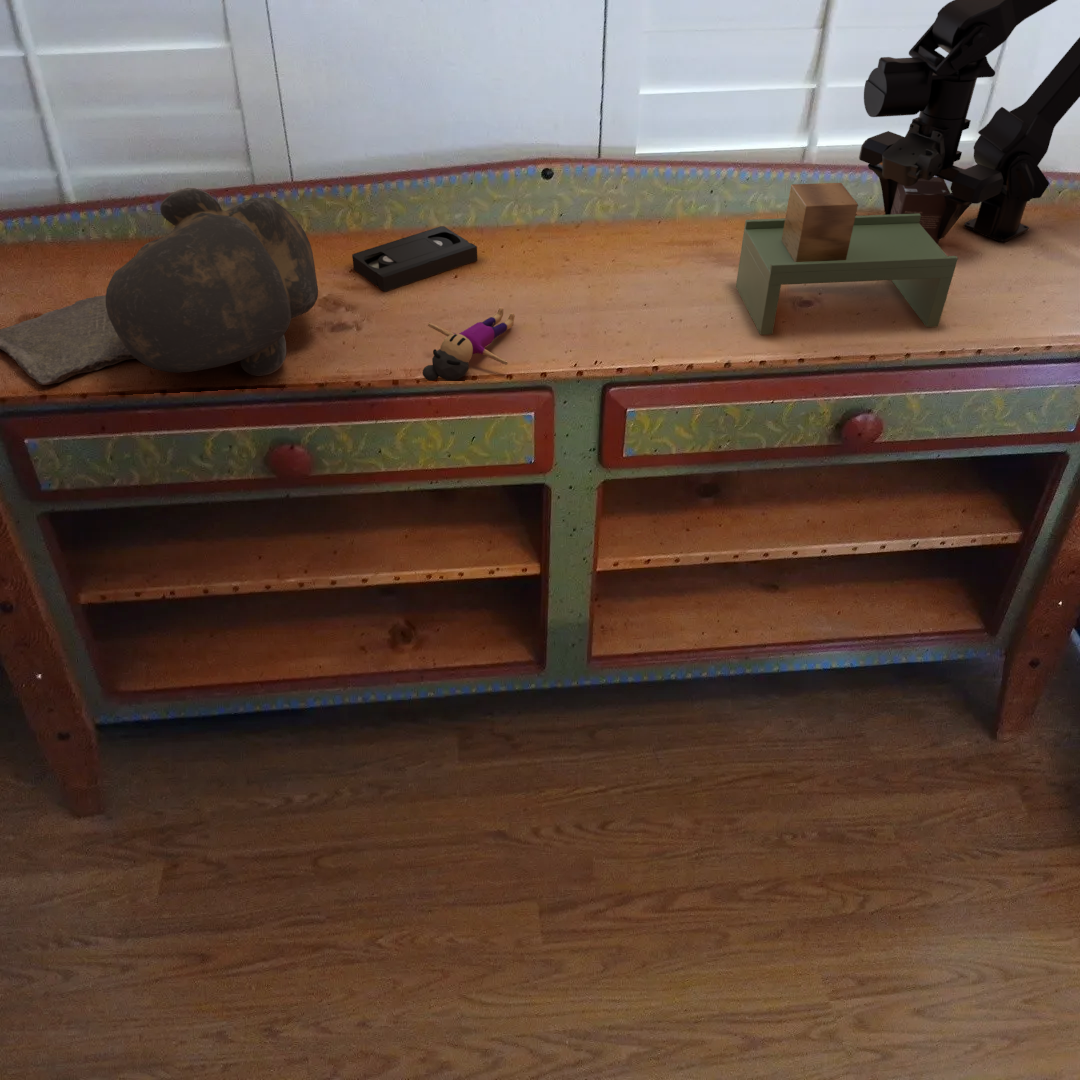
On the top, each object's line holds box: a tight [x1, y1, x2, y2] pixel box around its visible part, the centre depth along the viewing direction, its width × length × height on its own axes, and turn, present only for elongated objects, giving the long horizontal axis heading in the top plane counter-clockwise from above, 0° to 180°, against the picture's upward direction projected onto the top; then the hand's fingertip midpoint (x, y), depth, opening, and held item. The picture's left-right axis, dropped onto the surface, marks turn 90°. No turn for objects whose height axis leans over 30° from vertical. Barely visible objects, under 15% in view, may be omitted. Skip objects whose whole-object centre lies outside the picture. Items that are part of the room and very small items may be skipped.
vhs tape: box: [351, 225, 478, 293], centre depth 138 cm, size 14×8×2 cm, turn 128°
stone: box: [0, 295, 136, 386], centre depth 122 cm, size 17×3×15 cm
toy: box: [422, 306, 516, 382], centre depth 122 cm, size 10×6×15 cm
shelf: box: [735, 213, 959, 336], centre depth 129 cm, size 22×12×9 cm, turn 96°
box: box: [890, 176, 951, 246], centre depth 145 cm, size 6×6×7 cm
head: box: [105, 187, 319, 377], centre depth 116 cm, size 21×23×25 cm
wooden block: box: [782, 182, 859, 262], centre depth 123 cm, size 6×6×7 cm
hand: (913, 227), depth 146 cm, fingers closed on box, 8 cm apart
